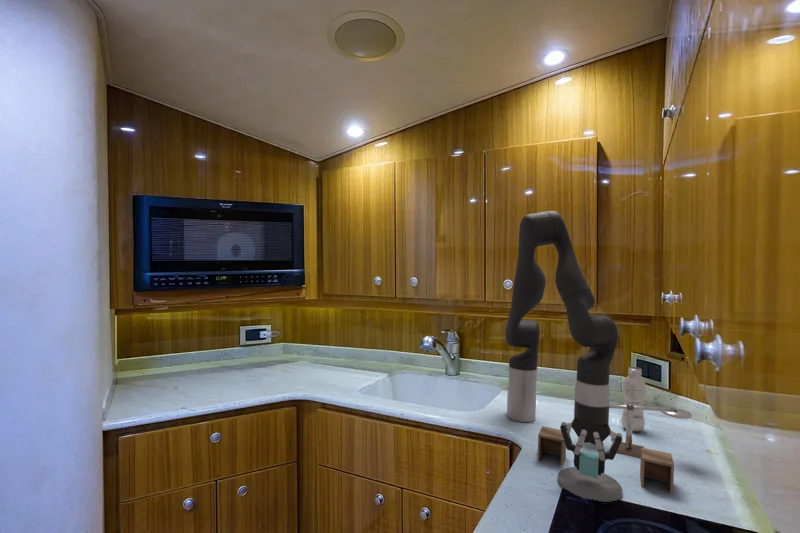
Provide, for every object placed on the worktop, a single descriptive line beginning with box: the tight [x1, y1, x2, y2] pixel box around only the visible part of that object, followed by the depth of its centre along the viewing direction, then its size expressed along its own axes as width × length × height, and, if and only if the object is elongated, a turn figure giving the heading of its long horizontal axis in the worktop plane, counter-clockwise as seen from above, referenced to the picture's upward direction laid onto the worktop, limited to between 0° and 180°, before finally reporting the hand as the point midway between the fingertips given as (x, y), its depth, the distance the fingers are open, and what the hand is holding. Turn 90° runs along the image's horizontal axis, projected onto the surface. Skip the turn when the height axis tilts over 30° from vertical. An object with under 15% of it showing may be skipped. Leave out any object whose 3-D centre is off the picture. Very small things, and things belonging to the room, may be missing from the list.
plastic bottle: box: [620, 366, 647, 433], centre depth 133 cm, size 6×7×20 cm
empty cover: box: [639, 447, 675, 495], centre depth 101 cm, size 6×6×7 cm
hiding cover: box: [536, 425, 567, 467], centre depth 113 cm, size 6×6×7 cm
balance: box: [609, 404, 692, 459], centre depth 118 cm, size 29×7×14 cm, turn 62°
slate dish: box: [557, 466, 623, 503], centre depth 99 cm, size 14×14×1 cm
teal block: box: [579, 449, 599, 478], centre depth 99 cm, size 4×4×4 cm
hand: (589, 470), depth 99 cm, fingers closed on teal block, 4 cm apart
